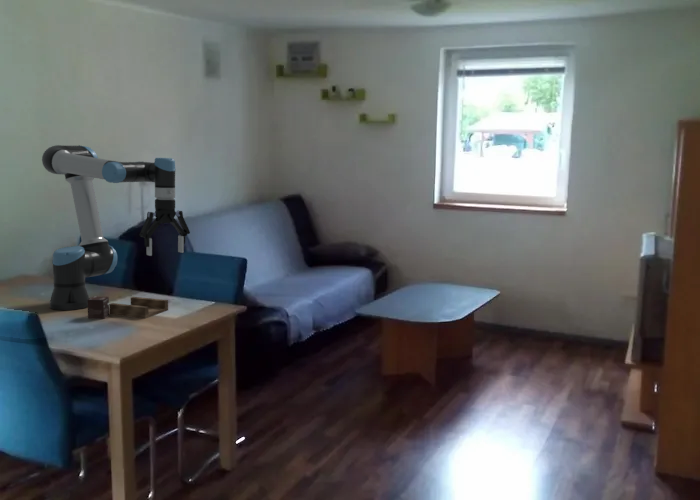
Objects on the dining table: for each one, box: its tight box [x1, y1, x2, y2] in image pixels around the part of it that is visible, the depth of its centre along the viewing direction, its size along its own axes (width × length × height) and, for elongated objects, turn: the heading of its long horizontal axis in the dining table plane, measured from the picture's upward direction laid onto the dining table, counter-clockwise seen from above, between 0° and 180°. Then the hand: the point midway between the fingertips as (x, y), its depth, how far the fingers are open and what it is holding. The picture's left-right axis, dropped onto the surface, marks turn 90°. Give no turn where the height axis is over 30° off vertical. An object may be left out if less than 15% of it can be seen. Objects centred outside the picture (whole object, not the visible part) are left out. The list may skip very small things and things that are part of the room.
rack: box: [109, 296, 169, 319], centre depth 266 cm, size 16×15×4 cm
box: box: [87, 296, 110, 320], centre depth 257 cm, size 6×6×7 cm
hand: (165, 253), depth 264 cm, fingers open, 13 cm apart
